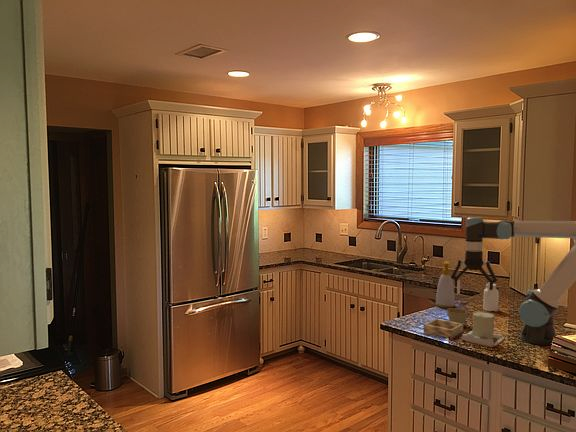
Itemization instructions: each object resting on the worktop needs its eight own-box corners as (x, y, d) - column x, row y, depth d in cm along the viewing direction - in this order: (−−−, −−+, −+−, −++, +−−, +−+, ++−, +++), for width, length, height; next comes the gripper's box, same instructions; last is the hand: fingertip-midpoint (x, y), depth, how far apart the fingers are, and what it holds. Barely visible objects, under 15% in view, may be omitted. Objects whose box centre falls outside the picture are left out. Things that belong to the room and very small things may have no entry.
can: (468, 338, 222) (469, 313, 221) (477, 334, 228) (478, 310, 227) (487, 343, 215) (488, 317, 214) (496, 339, 221) (498, 314, 220)
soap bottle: (456, 304, 286) (457, 261, 285) (454, 308, 276) (455, 264, 274) (436, 302, 291) (438, 259, 289) (433, 306, 281) (435, 262, 279)
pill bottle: (479, 309, 276) (480, 283, 275) (489, 307, 279) (490, 282, 278) (491, 312, 269) (492, 286, 268) (501, 311, 272) (502, 285, 271)
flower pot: (462, 321, 250) (462, 308, 249) (470, 327, 240) (470, 313, 239) (443, 321, 250) (444, 308, 249) (450, 327, 240) (451, 313, 239)
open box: (463, 331, 233) (463, 323, 232) (451, 338, 222) (452, 330, 222) (435, 325, 242) (435, 318, 241) (423, 332, 231) (423, 324, 231)
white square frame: (504, 339, 222) (504, 332, 221) (494, 347, 210) (494, 340, 210) (470, 332, 232) (471, 325, 231) (459, 339, 220) (459, 332, 220)
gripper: (504, 250, 220) (503, 296, 221) (448, 248, 233) (448, 291, 234) (501, 252, 213) (501, 299, 215) (444, 249, 226) (444, 294, 227)
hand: (473, 295), depth 224 cm, fingers open, 13 cm apart
